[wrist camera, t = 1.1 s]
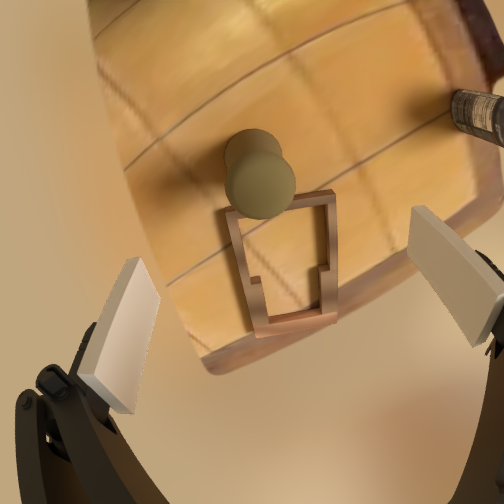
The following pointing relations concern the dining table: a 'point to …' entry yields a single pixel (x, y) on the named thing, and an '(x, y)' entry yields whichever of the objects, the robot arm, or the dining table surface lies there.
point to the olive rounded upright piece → (257, 175)
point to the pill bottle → (479, 115)
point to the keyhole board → (325, 273)
